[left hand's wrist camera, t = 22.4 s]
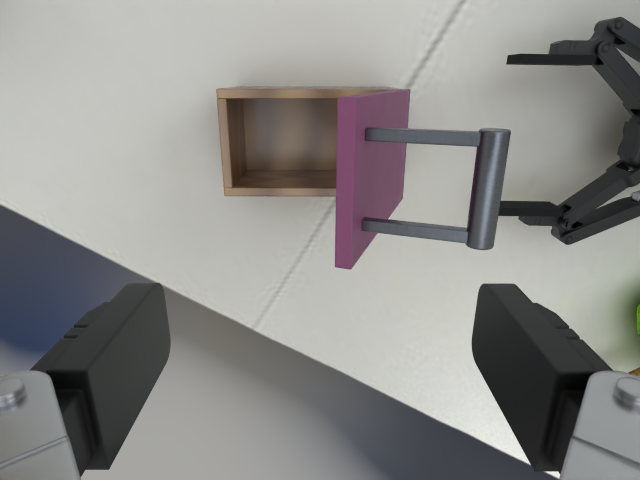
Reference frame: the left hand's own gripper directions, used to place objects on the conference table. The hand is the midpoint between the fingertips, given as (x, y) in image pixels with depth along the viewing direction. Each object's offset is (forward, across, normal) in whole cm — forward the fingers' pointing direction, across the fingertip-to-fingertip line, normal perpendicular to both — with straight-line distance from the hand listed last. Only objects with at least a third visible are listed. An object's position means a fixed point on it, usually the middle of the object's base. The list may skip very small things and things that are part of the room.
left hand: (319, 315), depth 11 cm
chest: (+39, +1, 0) cm, 39 cm away
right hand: (+32, -17, 0) cm, 36 cm away
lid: (+21, -4, 0) cm, 22 cm away
